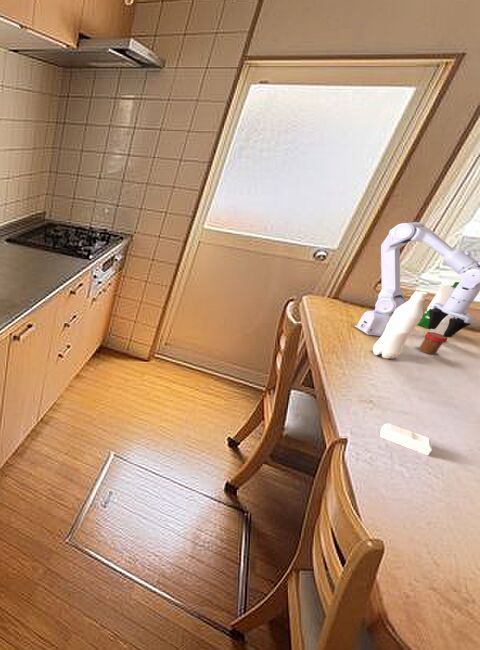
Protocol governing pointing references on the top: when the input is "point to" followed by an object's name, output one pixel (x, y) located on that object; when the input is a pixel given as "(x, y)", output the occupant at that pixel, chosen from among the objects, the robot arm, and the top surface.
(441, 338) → the lid
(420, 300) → the water bottle
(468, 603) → the top surface
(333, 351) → the top surface
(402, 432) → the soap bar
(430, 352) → the jar
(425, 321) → the milk carton
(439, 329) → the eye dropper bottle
